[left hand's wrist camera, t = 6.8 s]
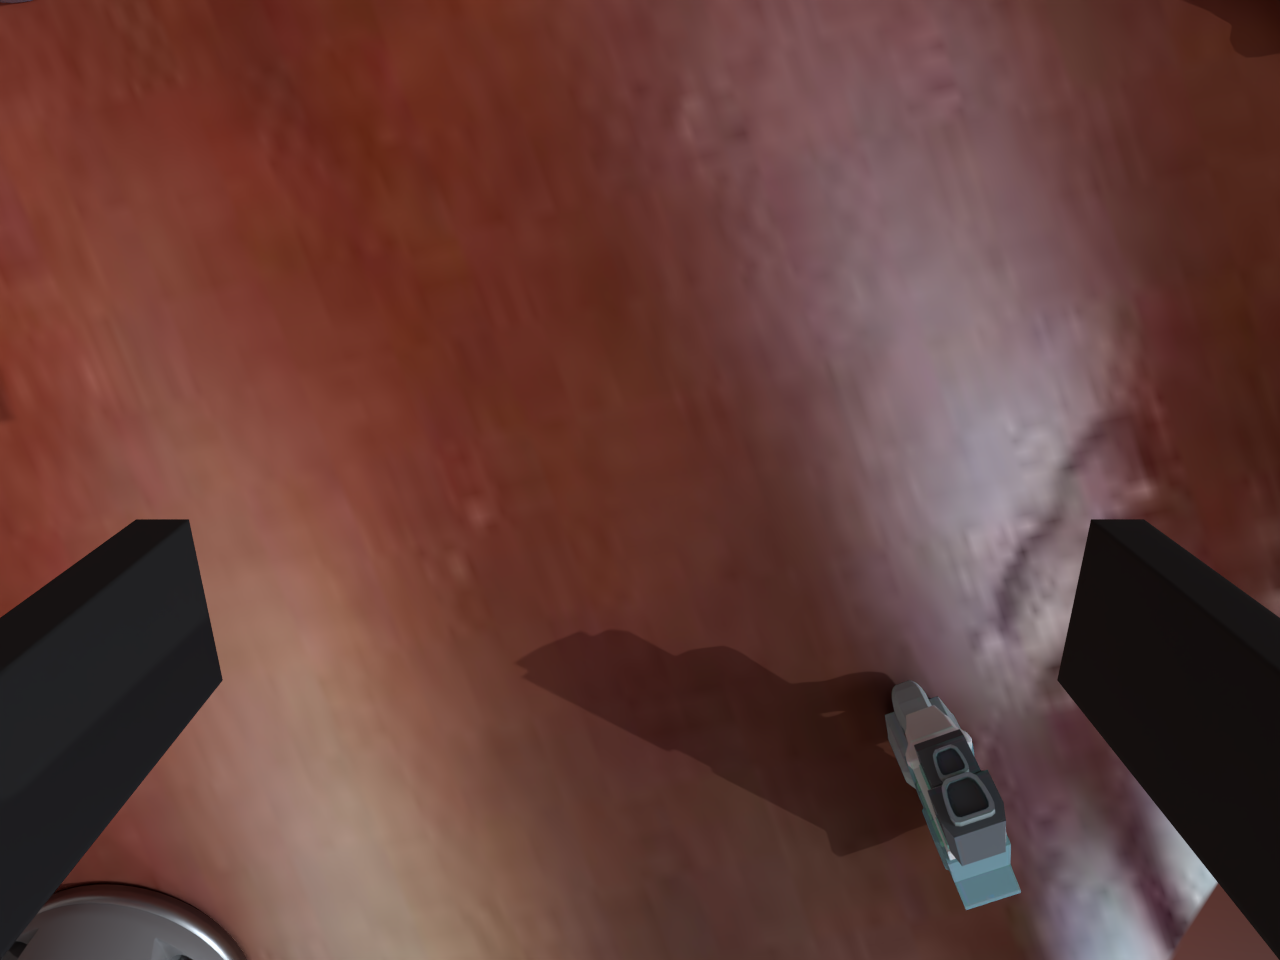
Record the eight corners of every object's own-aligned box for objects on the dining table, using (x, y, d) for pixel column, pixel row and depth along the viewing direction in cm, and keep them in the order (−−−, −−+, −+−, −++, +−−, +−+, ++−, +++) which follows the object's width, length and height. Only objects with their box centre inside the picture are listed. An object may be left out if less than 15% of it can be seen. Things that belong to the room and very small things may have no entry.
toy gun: (920, 594, 37) (1036, 827, 31) (944, 719, 52) (1026, 891, 46) (840, 624, 37) (939, 859, 31) (887, 739, 52) (961, 912, 46)
